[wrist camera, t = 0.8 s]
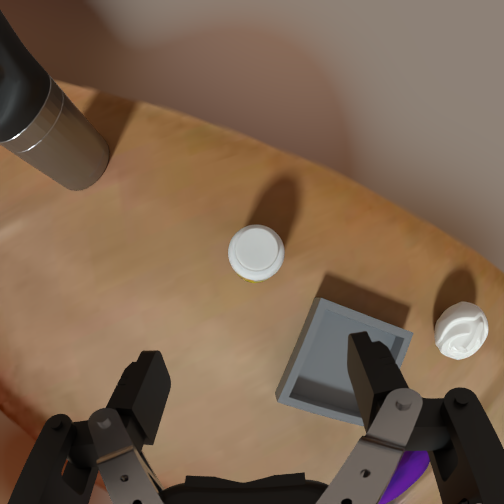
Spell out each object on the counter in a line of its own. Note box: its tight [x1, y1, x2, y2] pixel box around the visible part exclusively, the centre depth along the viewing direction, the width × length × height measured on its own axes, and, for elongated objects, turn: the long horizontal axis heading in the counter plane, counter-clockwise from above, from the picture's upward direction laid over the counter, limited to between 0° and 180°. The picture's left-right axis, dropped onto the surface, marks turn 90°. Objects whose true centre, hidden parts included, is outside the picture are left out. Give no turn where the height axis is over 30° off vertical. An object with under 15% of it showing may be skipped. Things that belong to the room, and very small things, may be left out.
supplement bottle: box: [228, 225, 284, 283], centre depth 34 cm, size 6×6×10 cm
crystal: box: [378, 451, 430, 504], centre depth 33 cm, size 5×5×15 cm
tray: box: [275, 297, 413, 426], centre depth 35 cm, size 13×13×4 cm
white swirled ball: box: [435, 301, 488, 360], centre depth 34 cm, size 8×8×8 cm
